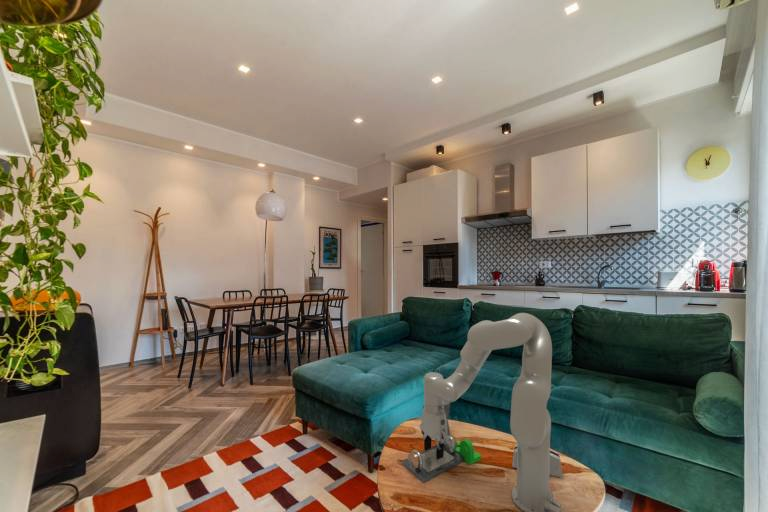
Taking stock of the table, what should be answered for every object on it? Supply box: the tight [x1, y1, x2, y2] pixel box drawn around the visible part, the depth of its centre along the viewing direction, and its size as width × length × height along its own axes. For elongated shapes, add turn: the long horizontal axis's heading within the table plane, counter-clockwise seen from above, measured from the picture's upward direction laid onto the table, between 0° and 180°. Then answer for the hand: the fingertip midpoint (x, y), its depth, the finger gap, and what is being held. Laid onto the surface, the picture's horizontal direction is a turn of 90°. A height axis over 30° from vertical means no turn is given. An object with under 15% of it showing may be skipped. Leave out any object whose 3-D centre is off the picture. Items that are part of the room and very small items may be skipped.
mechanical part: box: [455, 438, 482, 466], centre depth 129 cm, size 12×6×8 cm, turn 32°
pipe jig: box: [402, 434, 465, 483], centre depth 124 cm, size 21×12×8 cm, turn 125°
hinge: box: [511, 444, 564, 479], centre depth 119 cm, size 17×5×10 cm, turn 70°
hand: (433, 453), depth 124 cm, fingers open, 6 cm apart
